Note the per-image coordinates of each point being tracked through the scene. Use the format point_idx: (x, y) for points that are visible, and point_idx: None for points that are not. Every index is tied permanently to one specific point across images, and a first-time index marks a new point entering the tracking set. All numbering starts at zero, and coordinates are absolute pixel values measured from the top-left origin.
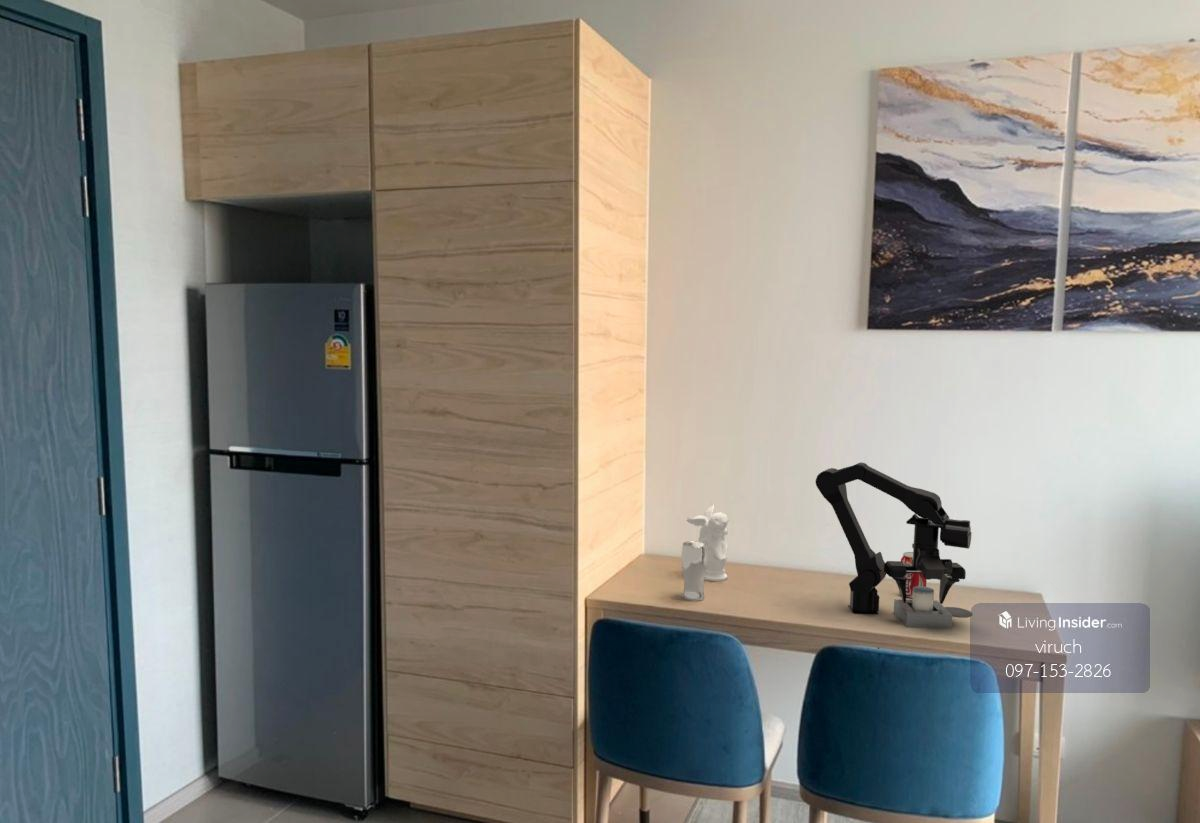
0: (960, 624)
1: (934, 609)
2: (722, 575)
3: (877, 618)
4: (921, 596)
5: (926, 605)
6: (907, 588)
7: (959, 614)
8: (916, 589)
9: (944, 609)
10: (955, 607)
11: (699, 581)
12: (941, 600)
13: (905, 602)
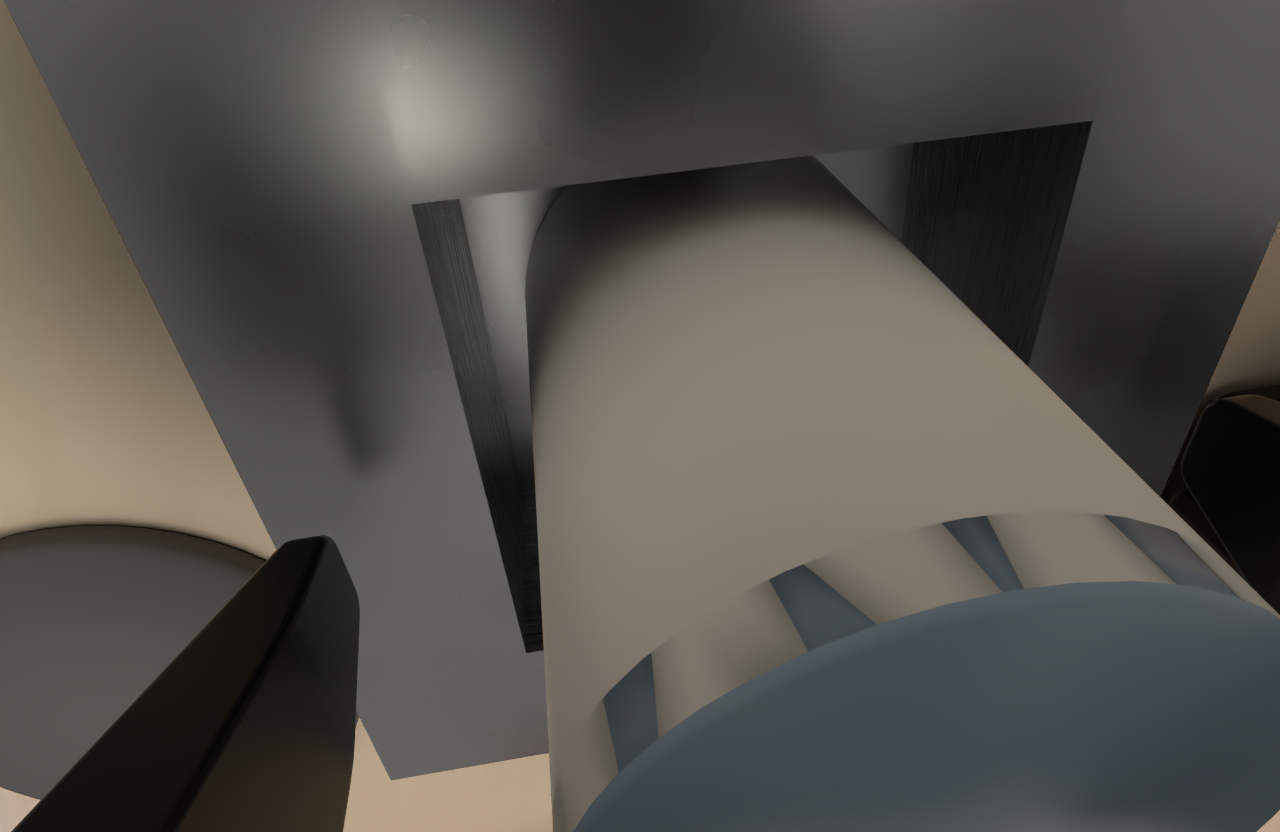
0: (20, 313)
1: (485, 454)
2: None
3: (1275, 302)
4: (1078, 460)
5: (781, 289)
6: None
7: (74, 638)
8: (1227, 778)
9: (254, 375)
10: None
11: None
12: (300, 595)
13: (1226, 400)
